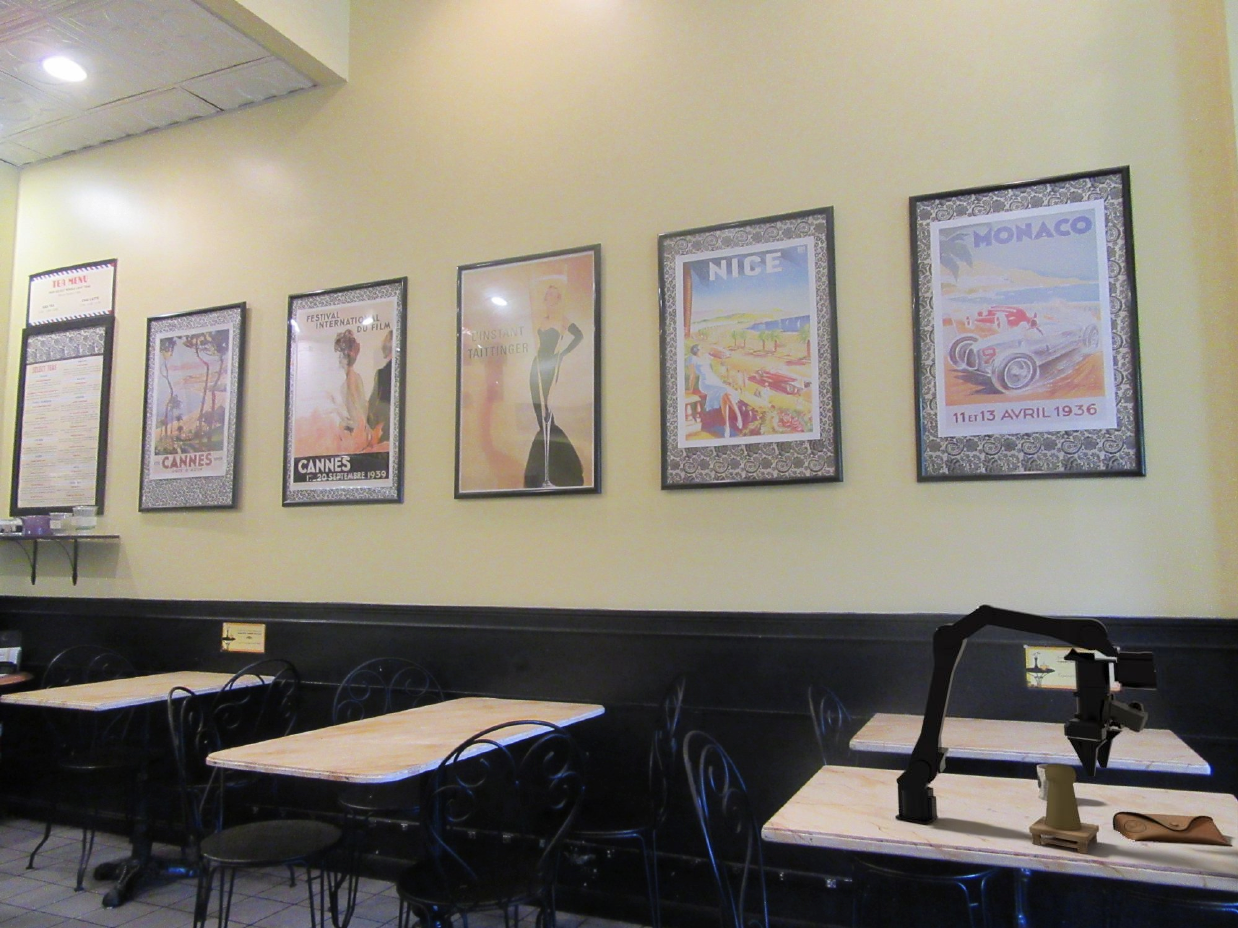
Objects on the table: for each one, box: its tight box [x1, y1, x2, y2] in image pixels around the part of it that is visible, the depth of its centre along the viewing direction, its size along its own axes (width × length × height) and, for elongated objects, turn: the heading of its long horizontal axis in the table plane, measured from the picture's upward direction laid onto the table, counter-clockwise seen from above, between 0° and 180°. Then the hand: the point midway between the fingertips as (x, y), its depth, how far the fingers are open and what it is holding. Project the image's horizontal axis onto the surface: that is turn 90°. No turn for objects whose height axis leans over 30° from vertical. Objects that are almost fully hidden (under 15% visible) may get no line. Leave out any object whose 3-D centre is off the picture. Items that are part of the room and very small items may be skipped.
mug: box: [1036, 763, 1049, 802], centre depth 191 cm, size 10×7×7 cm, turn 136°
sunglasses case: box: [1112, 811, 1233, 847], centre depth 164 cm, size 18×7×7 cm
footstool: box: [1028, 815, 1100, 855], centre depth 160 cm, size 10×10×3 cm
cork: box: [1045, 762, 1082, 831], centre depth 161 cm, size 6×6×11 cm
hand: (1097, 771), depth 161 cm, fingers open, 9 cm apart
